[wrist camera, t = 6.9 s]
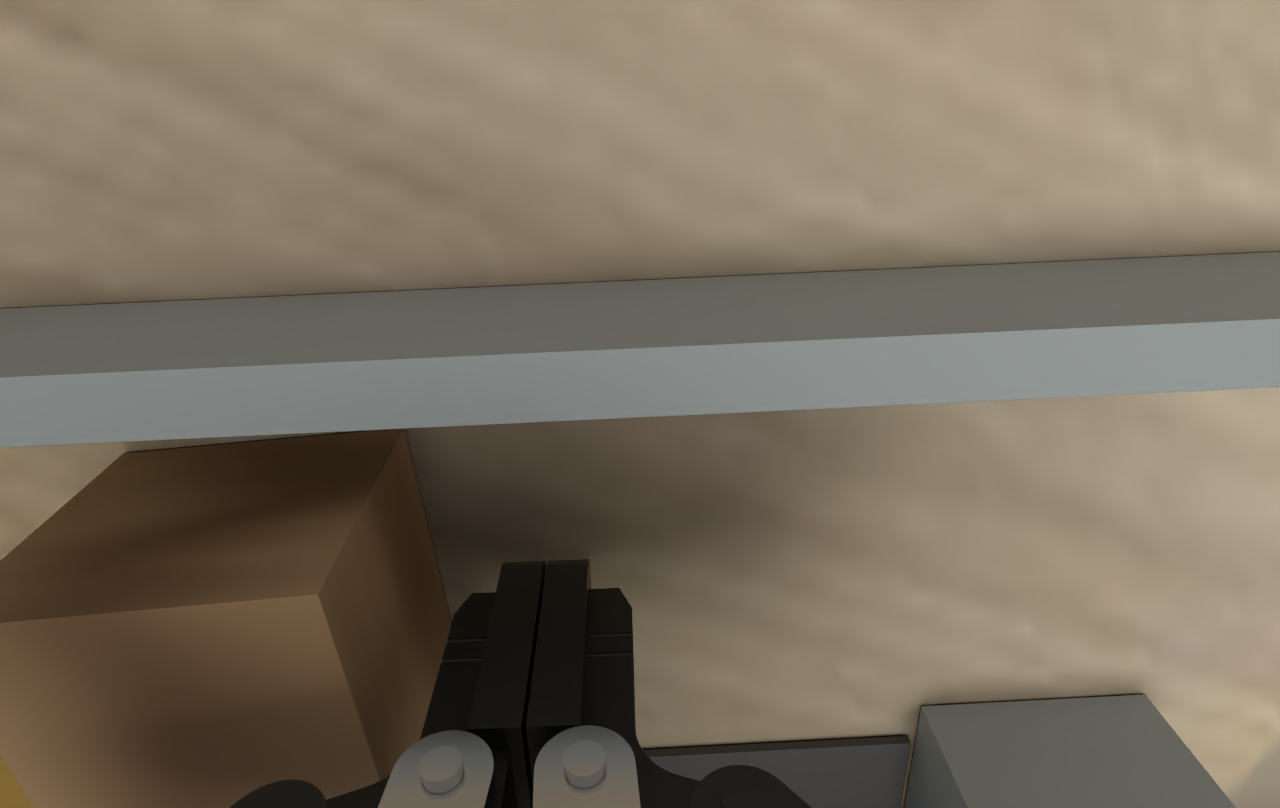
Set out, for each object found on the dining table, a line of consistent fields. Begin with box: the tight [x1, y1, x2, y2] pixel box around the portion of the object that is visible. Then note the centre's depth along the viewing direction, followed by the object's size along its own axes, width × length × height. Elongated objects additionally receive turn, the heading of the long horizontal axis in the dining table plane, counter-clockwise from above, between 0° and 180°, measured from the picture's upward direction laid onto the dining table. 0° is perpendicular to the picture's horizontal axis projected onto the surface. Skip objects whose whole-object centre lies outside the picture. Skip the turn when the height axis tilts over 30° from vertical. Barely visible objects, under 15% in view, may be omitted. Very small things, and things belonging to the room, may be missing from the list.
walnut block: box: [0, 429, 452, 808], centre depth 13 cm, size 5×5×4 cm
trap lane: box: [0, 252, 1280, 808], centre depth 15 cm, size 23×15×3 cm, turn 92°
